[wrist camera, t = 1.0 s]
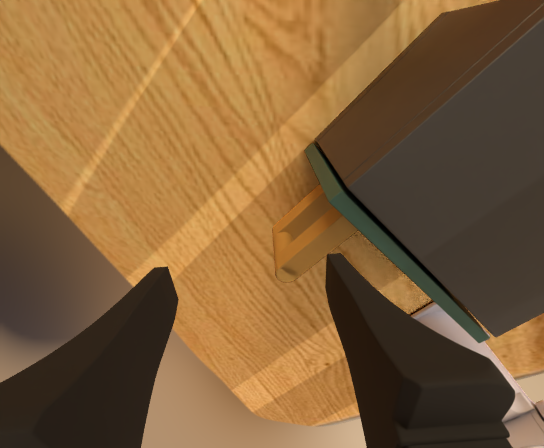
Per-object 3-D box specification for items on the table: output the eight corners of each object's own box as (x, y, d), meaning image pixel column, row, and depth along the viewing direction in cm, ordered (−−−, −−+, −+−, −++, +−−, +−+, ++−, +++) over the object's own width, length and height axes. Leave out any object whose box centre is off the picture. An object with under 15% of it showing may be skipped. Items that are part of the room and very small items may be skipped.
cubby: (428, 257, 26) (495, 337, 19) (314, 139, 20) (347, 188, 13) (539, 182, 22) (677, 244, 15) (441, 12, 17) (588, -22, 9)
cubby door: (369, 298, 28) (406, 381, 21) (251, 203, 22) (247, 273, 15) (426, 260, 26) (490, 338, 19) (312, 142, 20) (341, 190, 13)
